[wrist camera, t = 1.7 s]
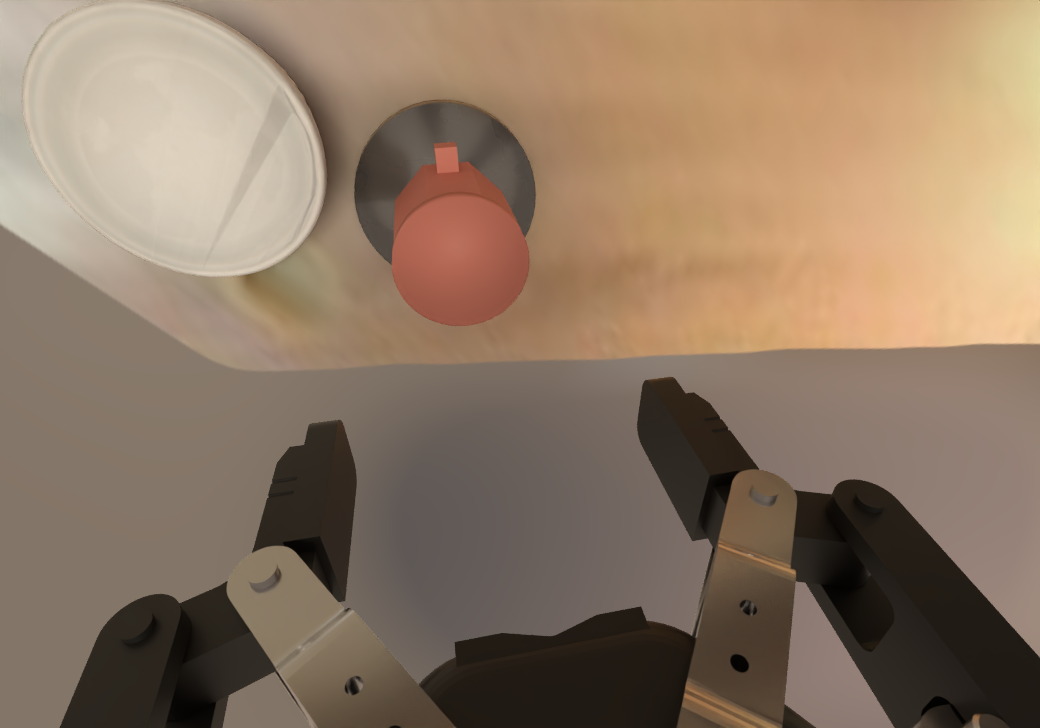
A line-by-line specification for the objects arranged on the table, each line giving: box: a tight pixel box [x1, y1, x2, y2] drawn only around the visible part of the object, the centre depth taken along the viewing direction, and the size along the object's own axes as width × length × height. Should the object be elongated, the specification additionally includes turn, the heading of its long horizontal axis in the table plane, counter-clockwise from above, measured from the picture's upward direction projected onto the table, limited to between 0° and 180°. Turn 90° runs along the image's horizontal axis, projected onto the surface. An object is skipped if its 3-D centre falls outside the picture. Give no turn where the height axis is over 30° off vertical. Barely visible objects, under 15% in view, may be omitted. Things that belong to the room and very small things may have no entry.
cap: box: [392, 142, 529, 326], centre depth 25 cm, size 8×6×6 cm
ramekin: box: [22, 0, 327, 277], centre depth 24 cm, size 11×11×5 cm
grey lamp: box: [355, 100, 535, 265], centre depth 27 cm, size 10×10×9 cm
